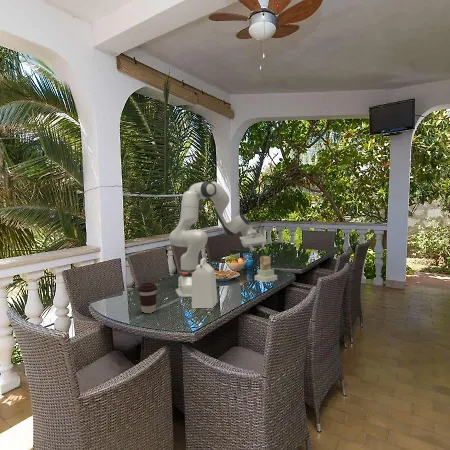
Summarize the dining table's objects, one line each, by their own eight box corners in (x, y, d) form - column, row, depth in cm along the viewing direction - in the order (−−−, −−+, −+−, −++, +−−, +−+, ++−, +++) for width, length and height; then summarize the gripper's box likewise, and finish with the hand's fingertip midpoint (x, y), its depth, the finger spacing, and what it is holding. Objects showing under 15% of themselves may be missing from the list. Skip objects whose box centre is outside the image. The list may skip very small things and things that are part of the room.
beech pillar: (270, 269, 244) (270, 256, 244) (265, 270, 242) (265, 257, 241) (265, 268, 248) (265, 255, 248) (260, 269, 246) (260, 256, 245)
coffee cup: (159, 308, 193) (158, 281, 191) (156, 314, 183) (155, 286, 181) (141, 309, 192) (139, 282, 191) (137, 315, 182) (135, 286, 181)
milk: (212, 309, 188) (210, 261, 186) (191, 308, 191) (189, 260, 188) (217, 302, 200) (216, 256, 198) (197, 301, 202) (196, 256, 200)
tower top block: (274, 275, 244) (273, 269, 243) (265, 277, 239) (265, 271, 239) (266, 273, 250) (266, 268, 250) (257, 275, 246) (257, 269, 246)
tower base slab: (277, 281, 244) (277, 275, 244) (265, 283, 238) (265, 278, 237) (266, 278, 253) (265, 272, 253) (254, 281, 246) (254, 275, 246)
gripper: (240, 233, 247) (249, 248, 240) (261, 230, 259) (271, 245, 253) (236, 239, 251) (245, 254, 244) (257, 236, 263) (267, 250, 256)
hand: (259, 249), depth 248 cm, fingers open, 8 cm apart
